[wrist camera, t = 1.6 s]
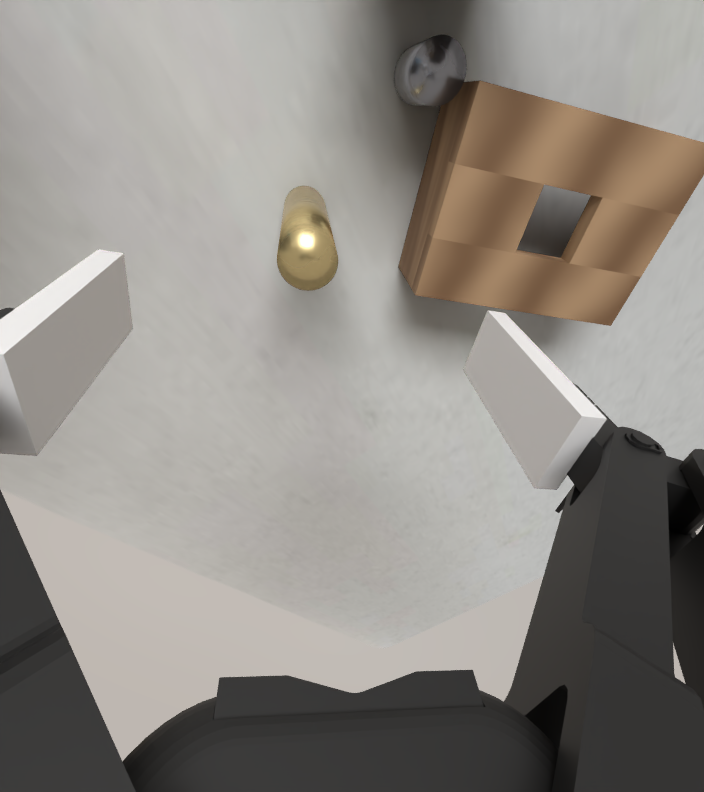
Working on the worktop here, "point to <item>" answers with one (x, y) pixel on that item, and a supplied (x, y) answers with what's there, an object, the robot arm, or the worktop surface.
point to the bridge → (518, 193)
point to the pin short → (431, 72)
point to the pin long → (306, 241)
